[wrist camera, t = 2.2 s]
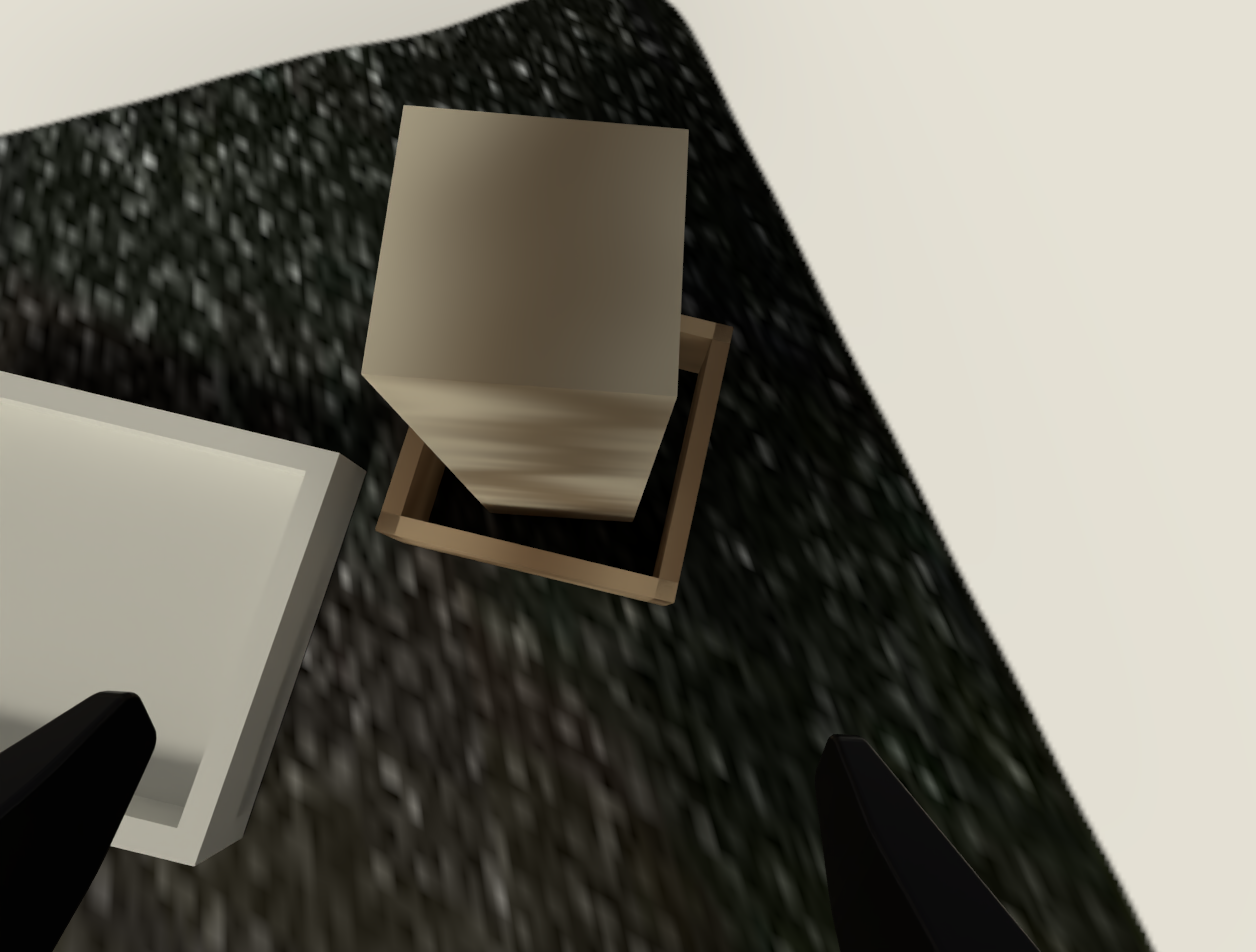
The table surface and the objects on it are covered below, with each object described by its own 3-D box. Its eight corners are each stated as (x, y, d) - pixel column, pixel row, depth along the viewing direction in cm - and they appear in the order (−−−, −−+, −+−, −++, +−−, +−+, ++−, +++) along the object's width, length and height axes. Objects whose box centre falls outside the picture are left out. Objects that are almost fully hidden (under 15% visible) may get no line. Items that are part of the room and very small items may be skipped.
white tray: (-164, 737, 20) (-267, 753, 18) (8, 384, 23) (-61, 356, 21) (242, 837, 20) (194, 866, 18) (366, 471, 23) (339, 453, 21)
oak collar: (403, 542, 23) (375, 530, 20) (478, 305, 25) (463, 262, 22) (663, 605, 23) (674, 603, 20) (717, 362, 25) (733, 327, 22)
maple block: (489, 512, 23) (360, 374, 10) (504, 378, 24) (403, 105, 11) (632, 522, 23) (677, 396, 11) (640, 388, 24) (689, 129, 12)
